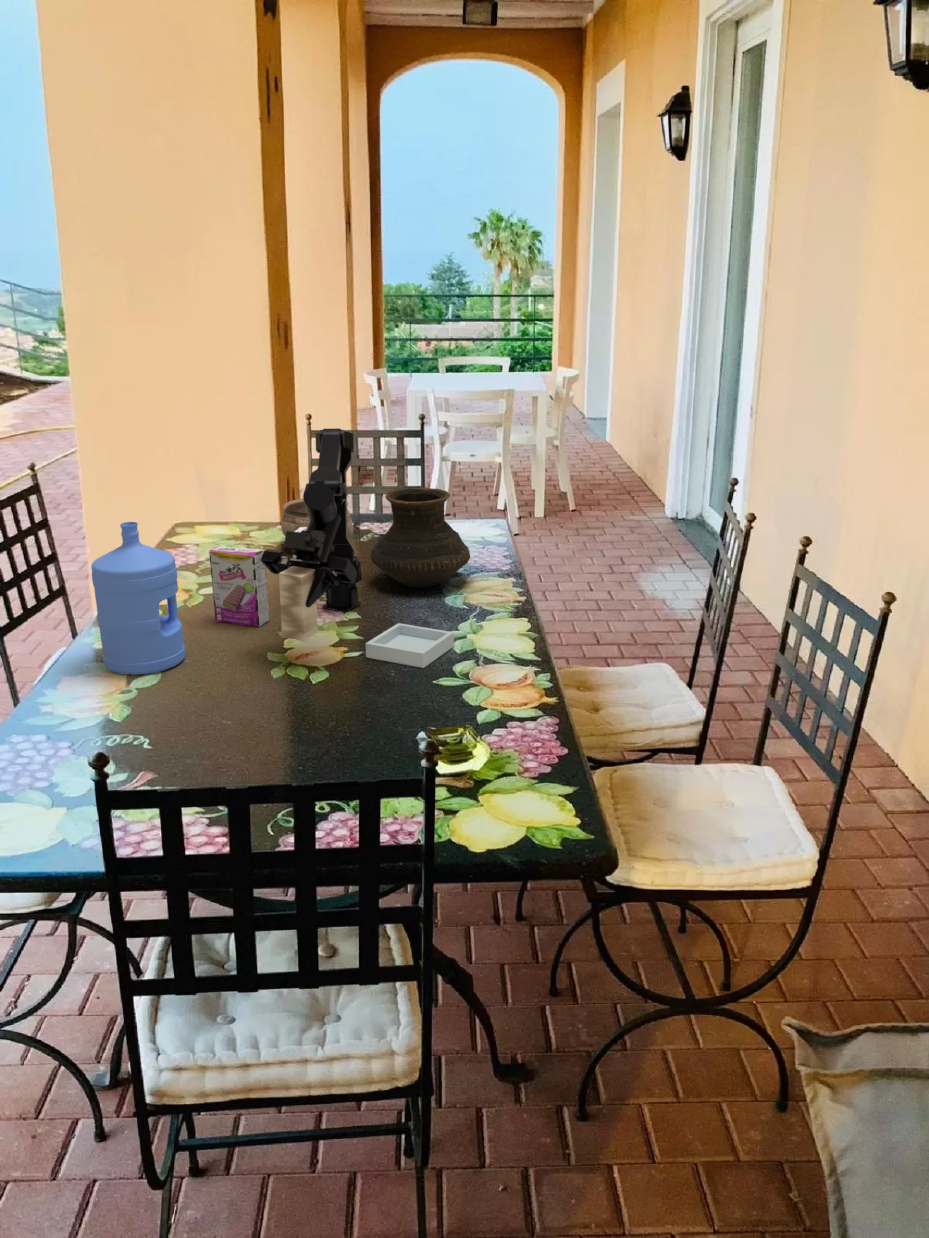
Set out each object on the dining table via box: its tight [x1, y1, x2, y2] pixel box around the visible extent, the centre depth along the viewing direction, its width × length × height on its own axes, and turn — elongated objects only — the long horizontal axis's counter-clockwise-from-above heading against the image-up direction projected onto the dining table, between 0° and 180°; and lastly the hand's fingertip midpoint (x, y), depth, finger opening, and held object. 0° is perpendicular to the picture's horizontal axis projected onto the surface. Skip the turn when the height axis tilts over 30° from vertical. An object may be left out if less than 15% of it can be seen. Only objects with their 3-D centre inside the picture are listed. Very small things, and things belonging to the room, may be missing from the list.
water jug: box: [91, 521, 186, 676], centre depth 202 cm, size 16×16×28 cm
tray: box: [365, 622, 455, 669], centre depth 210 cm, size 13×13×3 cm
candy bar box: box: [208, 544, 271, 628], centre depth 225 cm, size 11×5×16 cm, turn 71°
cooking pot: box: [280, 498, 353, 537], centre depth 281 cm, size 25×19×12 cm
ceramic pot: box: [370, 487, 471, 589], centre depth 250 cm, size 24×24×22 cm
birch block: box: [278, 566, 319, 642], centre depth 201 cm, size 5×5×13 cm
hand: (294, 604), depth 200 cm, fingers closed on birch block, 5 cm apart
